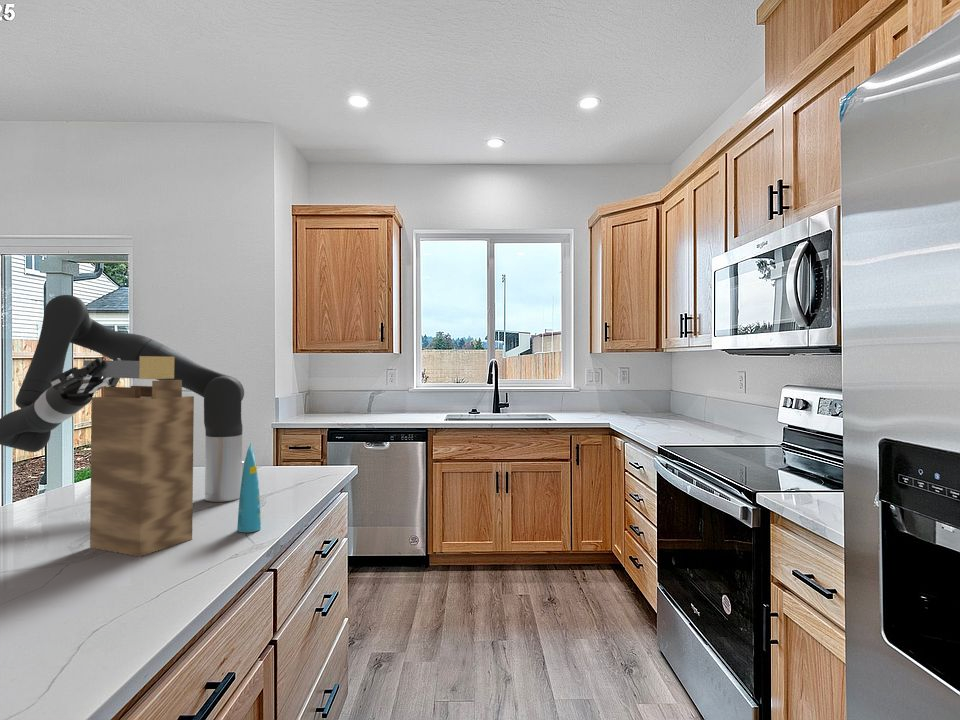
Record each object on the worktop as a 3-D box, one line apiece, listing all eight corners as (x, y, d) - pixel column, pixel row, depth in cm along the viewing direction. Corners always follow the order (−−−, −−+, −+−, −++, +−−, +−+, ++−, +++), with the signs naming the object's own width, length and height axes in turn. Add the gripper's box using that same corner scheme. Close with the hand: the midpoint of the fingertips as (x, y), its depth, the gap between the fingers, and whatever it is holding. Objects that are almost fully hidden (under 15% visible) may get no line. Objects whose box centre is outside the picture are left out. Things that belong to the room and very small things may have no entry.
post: (144, 531, 127) (146, 378, 127) (192, 539, 122) (193, 379, 122) (89, 547, 116) (91, 379, 116) (139, 556, 110) (141, 381, 111)
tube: (262, 533, 126) (263, 445, 126) (238, 535, 124) (239, 446, 124) (259, 524, 133) (259, 440, 133) (236, 526, 131) (237, 441, 131)
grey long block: (103, 376, 127) (104, 355, 127) (174, 378, 119) (174, 356, 119) (78, 376, 122) (78, 355, 122) (150, 379, 114) (150, 356, 114)
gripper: (23, 386, 122) (71, 345, 116) (89, 383, 135) (135, 347, 130) (34, 417, 120) (83, 378, 115) (100, 412, 134) (147, 376, 128)
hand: (110, 361), depth 122 cm, fingers closed on grey long block, 3 cm apart
